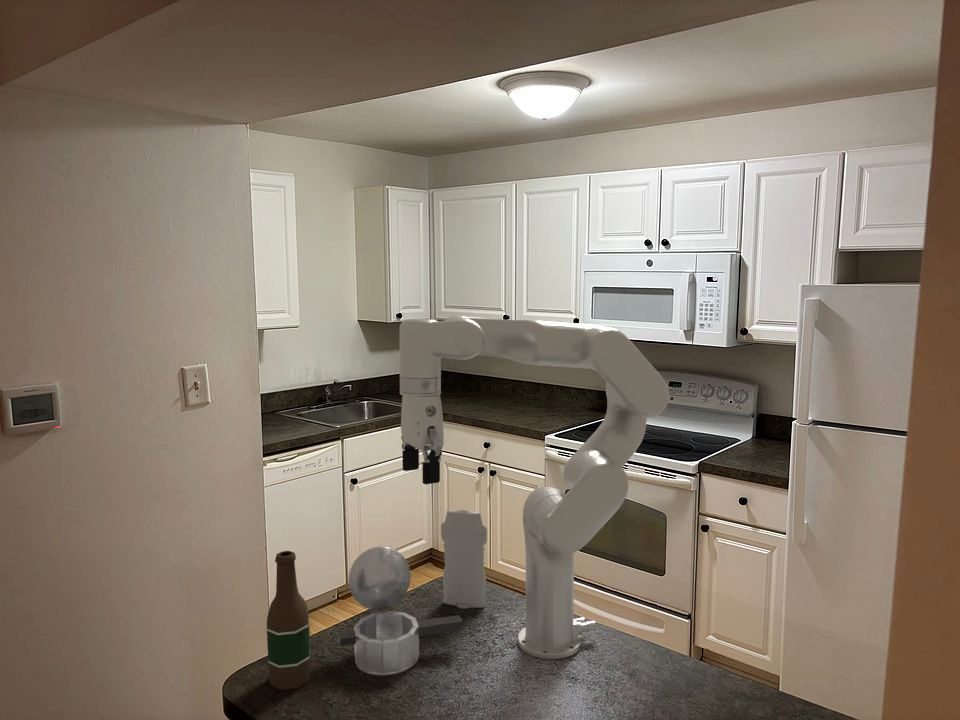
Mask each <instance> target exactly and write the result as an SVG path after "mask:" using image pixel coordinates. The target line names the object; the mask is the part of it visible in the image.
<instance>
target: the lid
mask: <svg viewBox="0 0 960 720" xmlns="http://www.w3.org/2000/svg"><path fill="white" fill-rule="evenodd" d="M411 576H412V574H411V568H410V566H409V562H408V561H407V559H406V558H405V557H404V556H403V555H402V553H400V552H399V551H398V550H396V549H394V548H392V547H387V546H374V547H371V548H368V549H367V550H365V551H363V552H362V553H360V555H358V557H356V559H355V560H354V562H353V563H352V564H351V568H350V570H349V574H348V586H349V590H350V592H351V593H350V594H351V596H352V598H353V599H354V600H355V601H356V602H357V604H359V605H360V606H361V607H364V608H366V609H369V610H372V611H381V610H388V609H389V608H390V609H391V608H392V607H394V606H396V605H397V604H398V603H399V602H400V601H402V599H403V598H404V597H405V595H406V594H407V592H408V590H409V587H410V584H411V579H412V577H411Z"/></svg>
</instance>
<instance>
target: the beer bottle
mask: <svg viewBox="0 0 960 720" xmlns="http://www.w3.org/2000/svg"><path fill="white" fill-rule="evenodd" d="M296 557H297V556H296V553H295V552H294V551H290V550H283V551H280V552H278V553H276V555H275V559H274V563H276V582H275V583H276V584H275V585H276V586H275V588H276V591H275V596H274V598H273V599H272V601H271V603H270V606H269V609H268V613H267V616H266V617H267V618H266V640H267V641H266V642H267V643H266V644H267V663H268V664H267V665H268V679H269V680H268V681H269V685H270V686H272V687H273V688H275V689H277V690H279V691H288V690H298V689H299V688H300V687H302V686H304V685H306V684H307V683H309V682H310V679H311V671H312V669H311V667H312V666H311V665H312V663H311V662H312V659H311V658H312V656H311V654H312V653H311V638H310V637H311V636H310V634H311V633H310V614H309V606H308V604H307V603H306V600H305V599H304V597H303V596H302V595H301V594H300V592H299V587H298V584H297V583H298V581H297V573H296V564H295V561H296V559H297V558H296Z"/></svg>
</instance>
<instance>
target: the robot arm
mask: <svg viewBox="0 0 960 720" xmlns="http://www.w3.org/2000/svg"><path fill="white" fill-rule="evenodd" d="M477 356H481V357H483V356H484V357H491V358H492V357H495V358H500V359H505V360H509V361H513V362H517V363H521V364H524V365H529V366H543V367H557V368H559V367H560V368H571V369H572V368H573V369H574V368H575V369H588V370H589V369H590V370H594V371H597V373H599V375H600V376H601V377H602V378H603V380H604V381H605V393H606V394H605V395H606V400H607V401H606V405H607V407H606V413H605V416H604V419H603V420H602V422H601V423H600V424H599V425H598V427H597V429H596V430H595V431H594V432H593V433H592V434H591V435H590V437H588V439H587V440H586V441H585V442H584V443H583V444H582V445H581V446H580V447H579V448H578V449H577V450H576V451H575V453H574V454H572V456H571V457H570V458H569V459H568V460H567V462H566V463H565V465H564V467H563V472H562V473H563V474H562V475H563V476H562V477H563V480H564V482H565V484H566V486H567V487H568V488H569V490H568V491H567V492H566V493H565V492H564V491H562V490H560V489H558V488H556V487H553V486H541V487H537V488H536V489H534V490H533V491H531V492H530V494H529V495H528V496H527V497H526V499H525V501H524V505H523V509H522V525H523V532H524V533H523V534H524V544H525V627H523V628H522V629H521V630H520V631H519V632H518V635H517V645H518V646H519V647H520V649H521V650H522V651H523V652H525V653H527V654H528V655H529V656H532V657H535V658H538V659H545V660H560V659H564V658H568V657H571V656H573V655H574V654H577V652H578V651H580V648H582V647H581V645H582V637H581V635H582V634H583V633H590V632H595V631H597V623H596V621H595V620H588V621H586V620H585V619H586V618H585V617H577V618H574V606H575V605H574V603H575V602H574V601H575V599H574V596H575V594H574V593H575V592H574V591H575V588H574V587H575V585H574V583H575V579H574V578H575V553H576V552H578V551H580V550H581V549H582V548H584V547H585V546H586V545H587V544H588V543H589V542H590V541H591V540H592V539H593V537H595V536H596V535H597V533H598V532H599V531H600V530H601V529H602V528H603V527H604V526H605V525H606V523H607V522H608V521H609V520H610V519H611V518H612V517H613V516H614V515H615V514H616V513H617V512H618V510H620V508H621V506H622V505H623V504H624V501H625V500H626V498H627V496H628V495H627V494H628V491H629V479H628V478H629V477H628V475H627V472H626V471H625V470H624V468H623V467H625V465H626V464H627V463H628V462H629V460H630V459H631V458H632V457H633V455H634V454H636V452H637V450H638V448H639V447H640V445H641V444H642V442H643V440H644V438H645V437H644V436H645V434H646V429H647V422H648V421H647V420H648V418H651V419H652V418H655V417H656V416H658V415H660V414H661V413H662V412H663V411H664V410H666V408H667V406H668V404H669V401H670V390H669V387H668V384H667V381H666V380H665V379H664V378H663V376H662V375H661V374H660V372H659V371H658V370H657V368H655V367H654V366H653V365H652V363H651V362H650V361H648V359H647V358H646V356H644V354H643V353H642V352H641V351H640V349H639V348H638V347H637V346H636V345H635V344H634V342H632V341H631V340H630V338H628V336H626V334H624V333H623V332H622V331H620V330H619V329H617V328H613V327H608V326H604V325H597V324H586V323H572V322H560V321H559V322H558V321H550V320H549V321H548V320H547V321H545V320H536V319H534V320H532V319H499V318H498V319H497V318H486V317H473V316H472V317H471V316H461V315H460V316H459V315H453V316H450V317H448V318H446V319H444V320H442V321H439V320H435V319H434V318H433V319H432V318H409V319H404V320H402V322H401V323H400V324H399V394H400V395H401V396H402V397H401V398H402V399H401V413H400V414H401V415H400V419H401V421H400V430H401V431H400V432H401V437H400V438H401V440H402V443H401V449H402V456H401V457H402V470H403V471H404V472H408V471H410V472H411V471H417V470H419V469H420V451H421V454H422V456H423V457H422V458H423V460H424V461H423V462H422V464H421V465H422V484H424V485H430V484H437V483H438V484H439V483H440V481H441V461H442V458H441V456H442V454H443V451H442V449H443V447H444V445H445V439H444V436H445V435H444V433H445V432H444V416H443V407H442V399H441V394H442V391H441V388H442V387H441V386H442V381H441V379H442V377H441V376H442V370H441V369H442V368H441V367H442V364H441V363H442V361H441V360H442V358H445V359H452V360H453V359H454V360H461V361H464V360H466V361H467V360H470V359H473V358H475V357H477ZM428 451H429V452H428Z"/></svg>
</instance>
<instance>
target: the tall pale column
mask: <svg viewBox="0 0 960 720" xmlns="http://www.w3.org/2000/svg"><path fill="white" fill-rule="evenodd" d="M481 514H482V513H481V512H477V511H472V510H467V509H456V510H455V509H452V510H451V509H450V510H447V511H446V515H445V519H444V521H443V522H442V523H441V524H440V535H441V536H440V537H441V540H442V542H444V543H443V545H442V546H443V547H444V548H443V551H444V552H443V553H444V554H443V556H444V557H443V558H444V563H443V564H444V565H445V566H444V569H443V574H442V579H443V581H442V582H443V583H442V584H443V585H442V586H443V604H444V605H448V606H453V607H457V608H459V609H483V608H486V607H487V597H486V596H487V576H486V572H485V571H484V568H485V550H486V548H485V545H486V544H487V543H488V527H487V526H486V525H485V524H484V522H483V518H482V515H481Z"/></svg>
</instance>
